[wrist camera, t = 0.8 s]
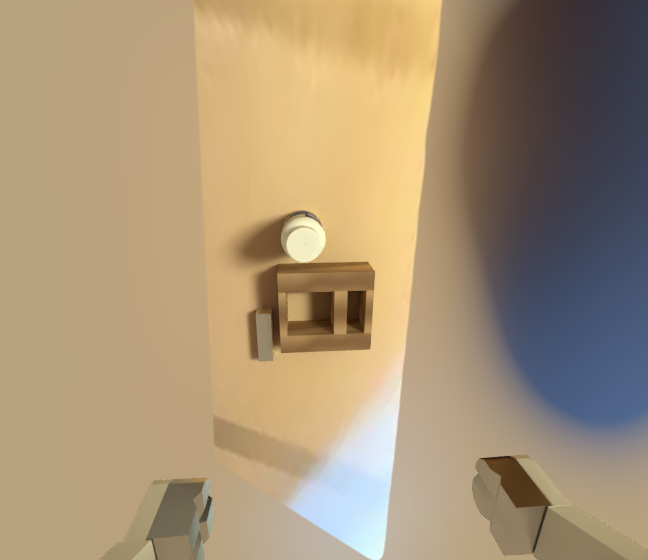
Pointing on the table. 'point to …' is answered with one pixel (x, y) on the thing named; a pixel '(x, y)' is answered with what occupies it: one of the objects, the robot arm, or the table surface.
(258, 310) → the slim grey peg
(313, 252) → the pill bottle
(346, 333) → the wooden compartment tray
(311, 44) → the table surface
